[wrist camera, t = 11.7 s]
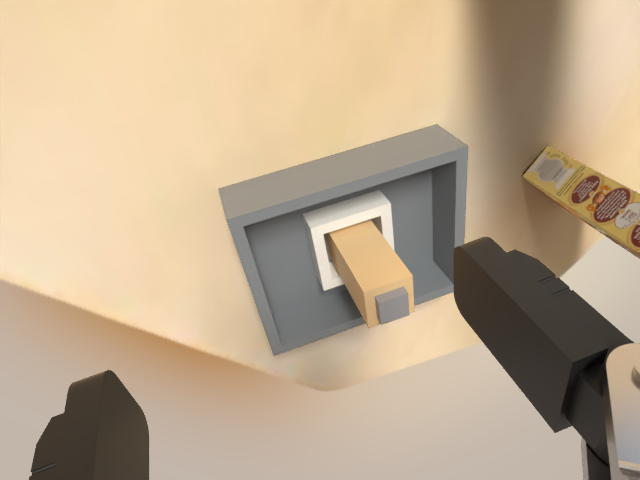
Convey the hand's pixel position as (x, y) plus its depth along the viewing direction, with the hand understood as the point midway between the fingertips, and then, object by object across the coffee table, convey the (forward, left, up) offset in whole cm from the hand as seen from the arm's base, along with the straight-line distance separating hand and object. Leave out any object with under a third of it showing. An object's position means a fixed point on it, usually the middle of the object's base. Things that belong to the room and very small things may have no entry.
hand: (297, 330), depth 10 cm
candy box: (-32, +20, -28) cm, 47 cm away
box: (-8, +18, -27) cm, 34 cm away
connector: (-8, +18, -27) cm, 33 cm away
